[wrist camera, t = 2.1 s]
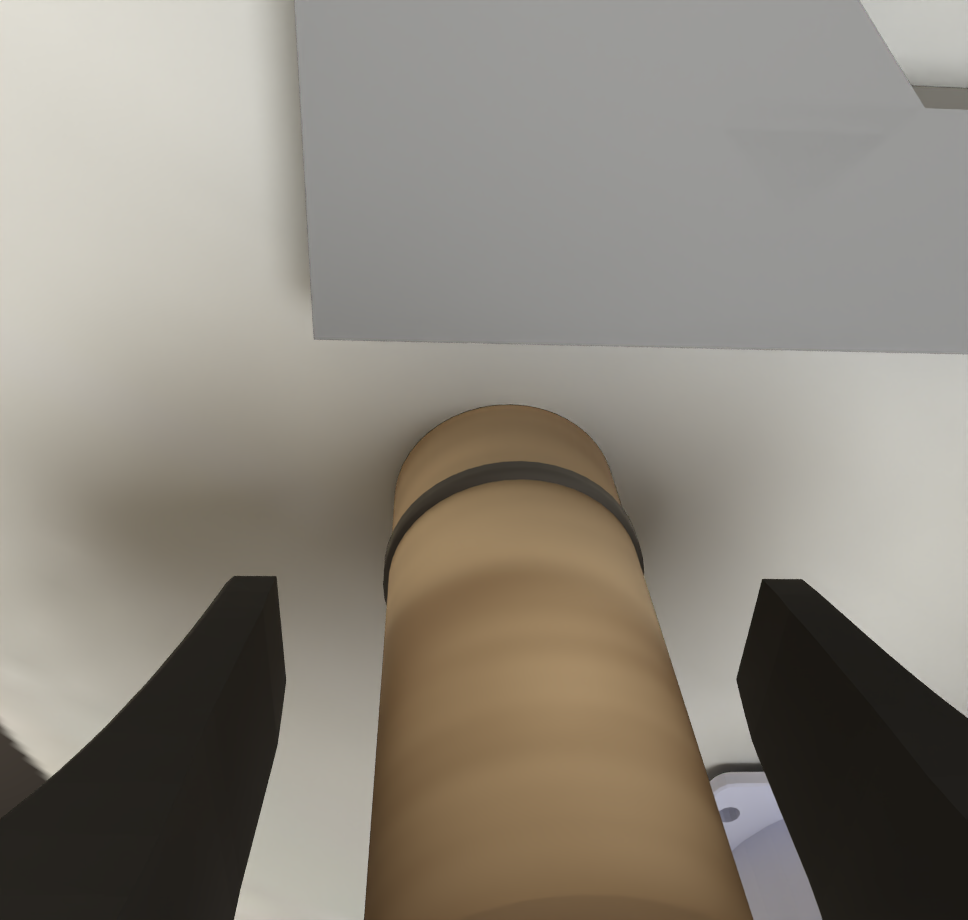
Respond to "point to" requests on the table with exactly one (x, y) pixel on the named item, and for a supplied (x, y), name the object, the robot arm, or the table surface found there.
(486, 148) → the slate board
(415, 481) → the oak peg
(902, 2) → the table surface
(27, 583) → the table surface
